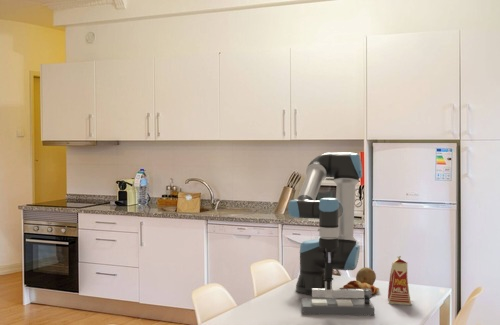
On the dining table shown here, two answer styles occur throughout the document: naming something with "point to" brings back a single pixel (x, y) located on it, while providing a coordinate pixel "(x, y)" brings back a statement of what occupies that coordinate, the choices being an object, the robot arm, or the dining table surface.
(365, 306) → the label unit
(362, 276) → the natural sponge
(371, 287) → the croissant
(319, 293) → the swing arm
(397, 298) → the milk carton
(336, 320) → the dining table surface
